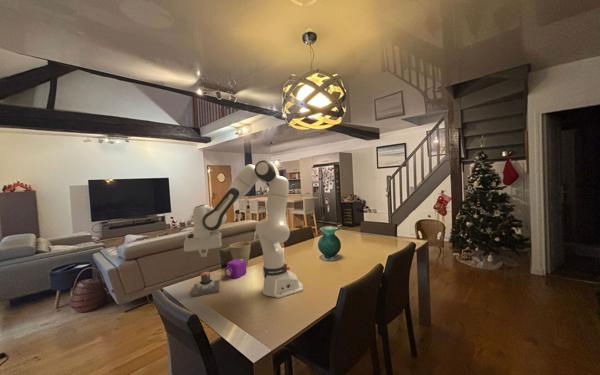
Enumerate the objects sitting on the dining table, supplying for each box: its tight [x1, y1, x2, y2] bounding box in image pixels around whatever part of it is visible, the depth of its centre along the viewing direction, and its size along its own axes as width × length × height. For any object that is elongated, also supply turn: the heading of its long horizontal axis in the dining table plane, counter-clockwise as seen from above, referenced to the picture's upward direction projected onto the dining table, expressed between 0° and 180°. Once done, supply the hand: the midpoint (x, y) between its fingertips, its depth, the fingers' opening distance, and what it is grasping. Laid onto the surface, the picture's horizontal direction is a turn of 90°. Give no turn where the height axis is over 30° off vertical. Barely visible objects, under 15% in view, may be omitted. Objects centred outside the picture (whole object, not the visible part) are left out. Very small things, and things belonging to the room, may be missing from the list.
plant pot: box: [229, 241, 252, 267], centre depth 176 cm, size 15×15×16 cm
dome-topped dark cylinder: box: [200, 271, 211, 284], centre depth 141 cm, size 5×5×8 cm
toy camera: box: [224, 259, 247, 279], centre depth 158 cm, size 11×14×10 cm
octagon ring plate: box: [191, 277, 220, 298], centre depth 141 cm, size 14×14×4 cm
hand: (204, 256), depth 140 cm, fingers closed
